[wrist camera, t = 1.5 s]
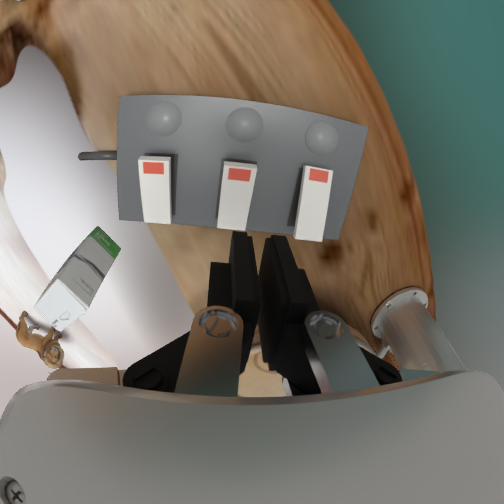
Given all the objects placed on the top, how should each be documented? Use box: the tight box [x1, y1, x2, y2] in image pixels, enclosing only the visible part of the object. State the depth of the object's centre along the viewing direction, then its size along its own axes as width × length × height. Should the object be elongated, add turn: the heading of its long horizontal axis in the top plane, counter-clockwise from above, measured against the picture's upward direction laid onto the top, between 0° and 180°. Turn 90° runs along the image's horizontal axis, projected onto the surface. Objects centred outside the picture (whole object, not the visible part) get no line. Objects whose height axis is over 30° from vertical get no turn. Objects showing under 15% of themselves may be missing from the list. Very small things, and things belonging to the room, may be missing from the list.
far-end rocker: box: [293, 166, 333, 242], centre depth 27 cm, size 8×3×1 cm, turn 171°
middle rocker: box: [217, 161, 257, 231], centre depth 26 cm, size 8×3×1 cm, turn 172°
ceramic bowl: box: [238, 324, 376, 397], centre depth 42 cm, size 37×29×10 cm
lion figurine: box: [16, 311, 64, 369], centre depth 37 cm, size 15×5×9 cm, turn 76°
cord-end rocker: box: [138, 156, 172, 224], centre depth 25 cm, size 8×3×1 cm, turn 172°
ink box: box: [34, 226, 121, 332], centre depth 29 cm, size 9×5×12 cm, turn 124°
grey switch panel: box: [78, 95, 369, 240], centre depth 27 cm, size 14×32×3 cm, turn 82°
